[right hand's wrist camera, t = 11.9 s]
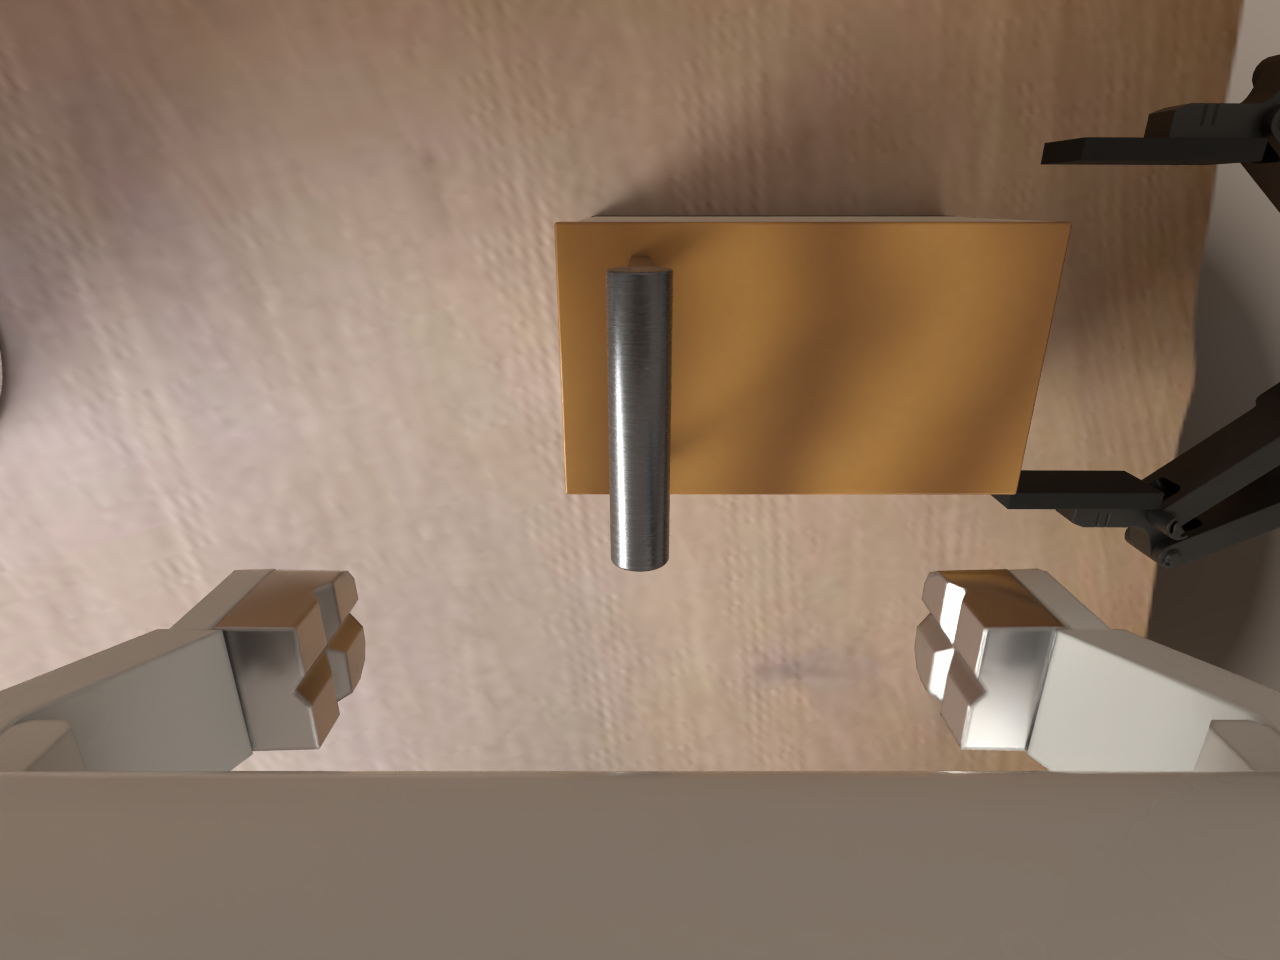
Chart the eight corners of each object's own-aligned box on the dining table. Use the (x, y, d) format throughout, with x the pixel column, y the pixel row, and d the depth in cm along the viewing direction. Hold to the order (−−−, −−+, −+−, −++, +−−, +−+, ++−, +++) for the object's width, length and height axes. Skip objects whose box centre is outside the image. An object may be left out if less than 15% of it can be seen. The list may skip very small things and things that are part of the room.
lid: (567, 486, 28) (537, 600, 20) (556, 221, 24) (515, 231, 16) (1005, 486, 28) (1151, 601, 20) (1059, 221, 24) (1262, 231, 16)
